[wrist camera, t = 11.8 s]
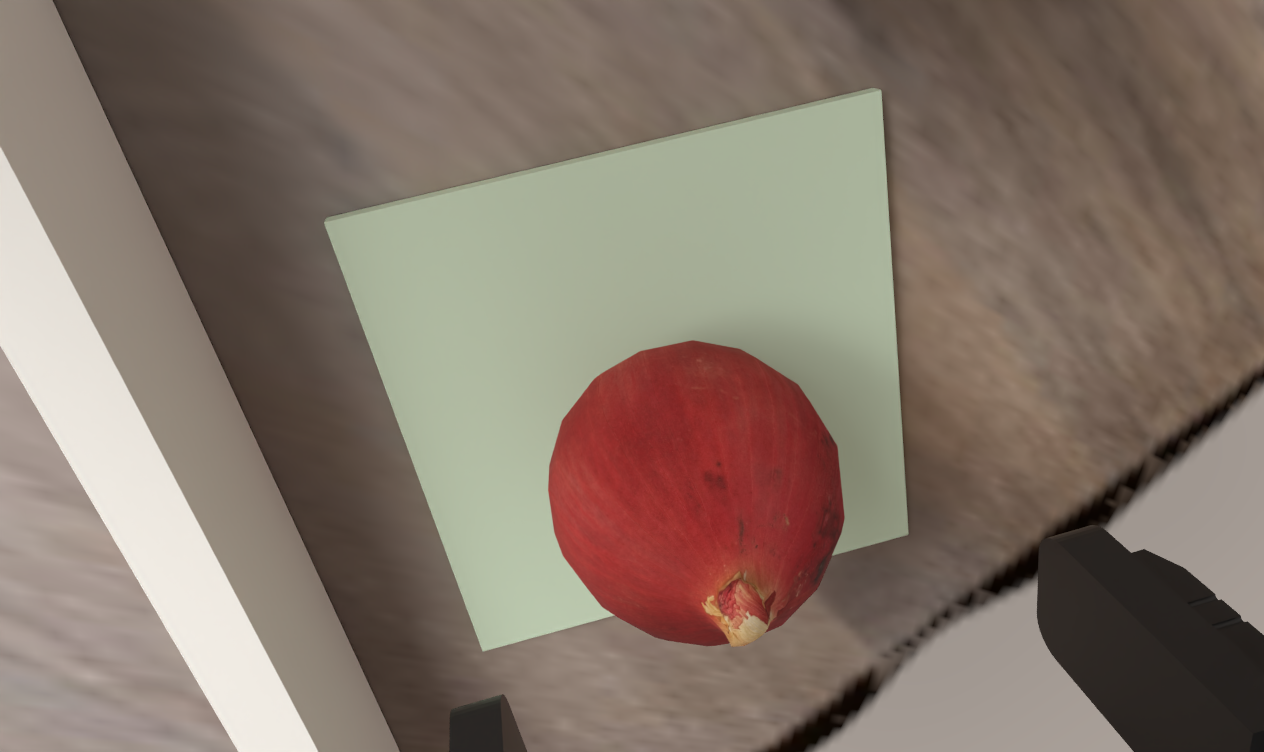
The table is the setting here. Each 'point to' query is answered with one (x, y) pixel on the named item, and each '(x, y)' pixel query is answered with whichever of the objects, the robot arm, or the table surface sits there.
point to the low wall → (157, 414)
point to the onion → (696, 494)
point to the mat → (628, 322)
